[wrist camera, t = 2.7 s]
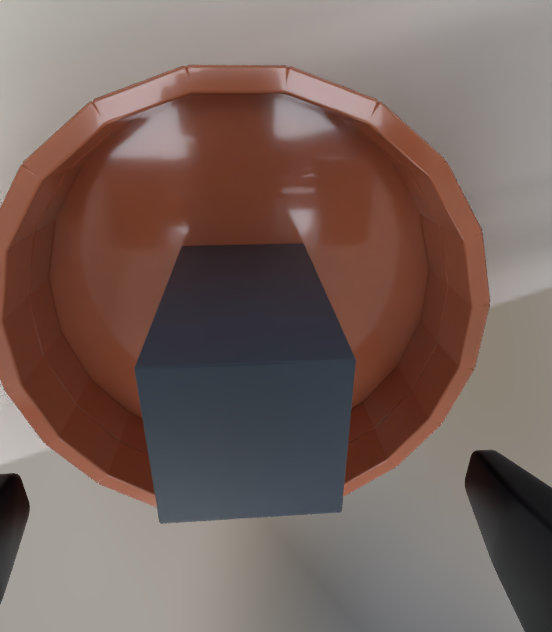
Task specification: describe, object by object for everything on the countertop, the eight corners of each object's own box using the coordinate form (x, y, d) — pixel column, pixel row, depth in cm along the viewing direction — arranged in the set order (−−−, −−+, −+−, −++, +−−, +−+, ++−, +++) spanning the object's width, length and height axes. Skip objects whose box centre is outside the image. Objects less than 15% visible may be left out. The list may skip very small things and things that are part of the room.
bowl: (471, 74, 14) (547, 66, 11) (408, 436, 21) (443, 505, 18) (-14, 72, 13) (-105, 62, 10) (82, 453, 20) (48, 530, 17)
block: (304, 243, 16) (356, 359, 9) (301, 348, 18) (341, 513, 11) (181, 245, 16) (133, 368, 9) (191, 352, 18) (159, 524, 11)
